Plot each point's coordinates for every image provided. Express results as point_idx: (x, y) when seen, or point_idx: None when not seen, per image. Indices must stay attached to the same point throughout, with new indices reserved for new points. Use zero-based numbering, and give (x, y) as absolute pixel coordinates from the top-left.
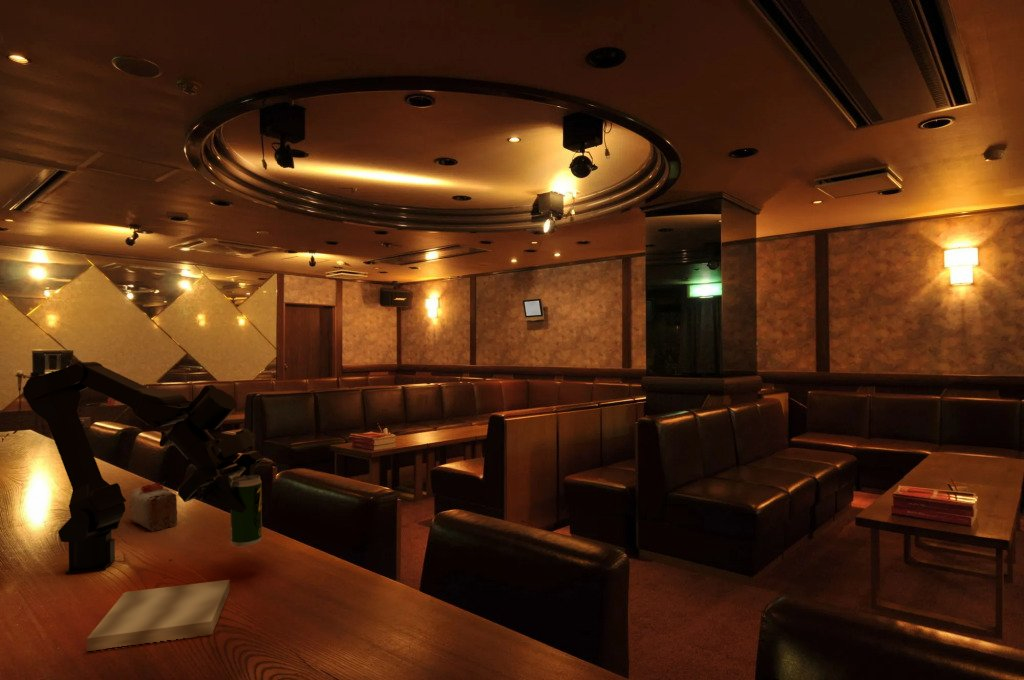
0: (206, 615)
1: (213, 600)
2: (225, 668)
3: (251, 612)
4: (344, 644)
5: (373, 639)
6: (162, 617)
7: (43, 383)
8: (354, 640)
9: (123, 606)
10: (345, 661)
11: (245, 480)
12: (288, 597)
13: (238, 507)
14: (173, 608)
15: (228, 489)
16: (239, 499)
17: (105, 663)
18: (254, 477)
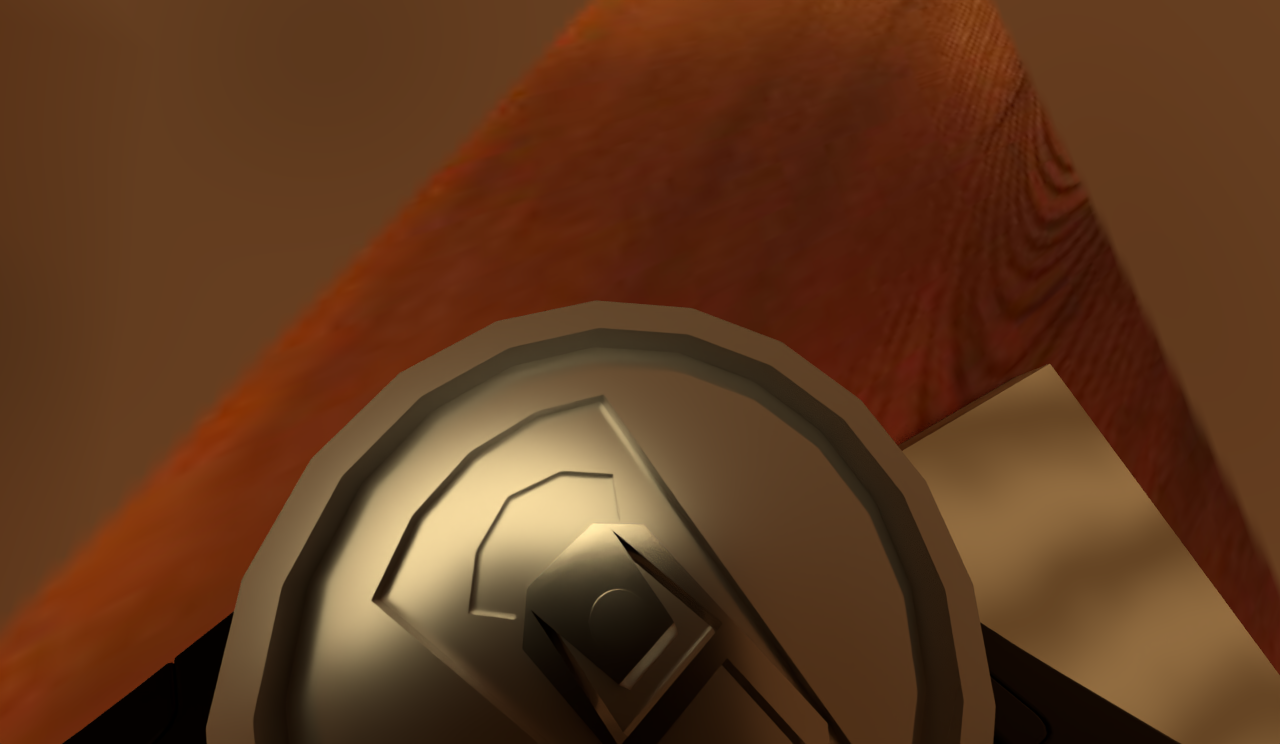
0: (1031, 405)
1: (941, 460)
2: (1103, 248)
3: (866, 342)
4: (925, 54)
5: (886, 7)
6: (1103, 558)
7: None
8: (903, 40)
9: None
10: (978, 36)
11: (846, 495)
12: (742, 280)
13: None
14: (1045, 572)
15: (1064, 706)
16: None
17: (1240, 577)
18: (457, 504)
